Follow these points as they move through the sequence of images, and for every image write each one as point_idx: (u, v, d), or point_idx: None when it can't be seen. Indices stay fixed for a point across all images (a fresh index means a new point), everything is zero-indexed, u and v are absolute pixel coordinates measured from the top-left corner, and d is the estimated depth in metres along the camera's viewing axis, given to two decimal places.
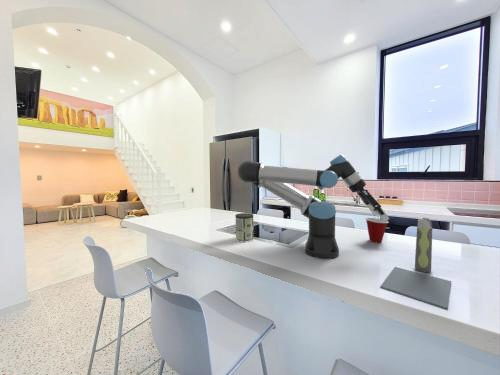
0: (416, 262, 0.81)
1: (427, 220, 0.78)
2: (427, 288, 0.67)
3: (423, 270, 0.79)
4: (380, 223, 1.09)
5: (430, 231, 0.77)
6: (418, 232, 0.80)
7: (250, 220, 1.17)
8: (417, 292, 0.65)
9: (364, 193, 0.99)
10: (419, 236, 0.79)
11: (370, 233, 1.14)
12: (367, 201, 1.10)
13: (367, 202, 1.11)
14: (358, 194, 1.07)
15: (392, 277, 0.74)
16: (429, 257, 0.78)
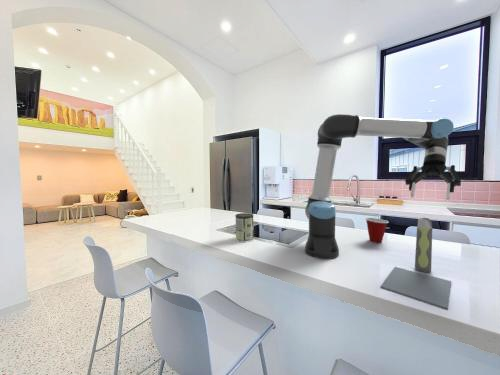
0: (416, 262, 0.81)
1: (427, 220, 0.78)
2: (427, 288, 0.67)
3: (423, 270, 0.79)
4: (380, 223, 1.09)
5: (430, 231, 0.77)
6: (418, 232, 0.80)
7: (250, 220, 1.17)
8: (417, 292, 0.65)
9: (454, 167, 0.88)
10: (419, 236, 0.79)
11: (370, 233, 1.14)
12: (416, 181, 0.93)
13: (415, 181, 0.93)
14: (430, 165, 0.92)
15: (392, 277, 0.74)
16: (429, 257, 0.78)
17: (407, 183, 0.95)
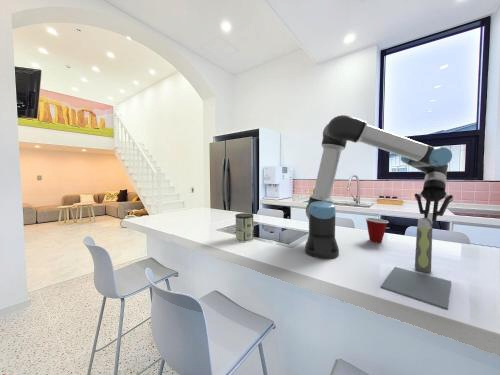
0: (416, 262, 0.81)
1: (427, 220, 0.78)
2: (427, 288, 0.67)
3: (423, 270, 0.79)
4: (380, 223, 1.09)
5: (430, 231, 0.77)
6: (418, 232, 0.80)
7: (250, 220, 1.17)
8: (417, 292, 0.65)
9: (451, 198, 0.88)
10: (419, 236, 0.79)
11: (370, 233, 1.14)
12: (429, 209, 0.90)
13: None
14: (429, 191, 0.93)
15: (392, 277, 0.74)
16: (429, 257, 0.78)
17: (422, 212, 0.91)
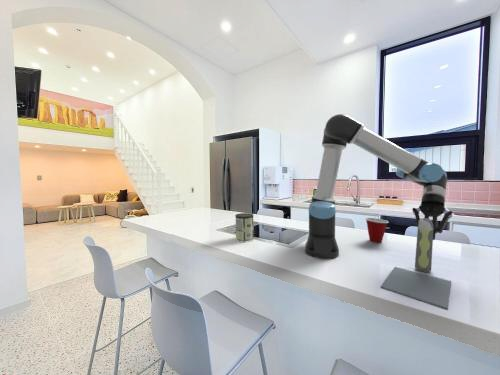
0: (416, 262, 0.80)
1: (428, 221, 0.76)
2: (427, 288, 0.67)
3: (423, 270, 0.79)
4: (380, 223, 1.09)
5: (431, 232, 0.76)
6: (419, 233, 0.78)
7: (250, 220, 1.17)
8: (417, 292, 0.65)
9: (451, 214, 0.83)
10: (420, 237, 0.78)
11: (370, 233, 1.14)
12: None
13: None
14: (428, 206, 0.88)
15: (392, 277, 0.74)
16: (429, 258, 0.77)
17: None
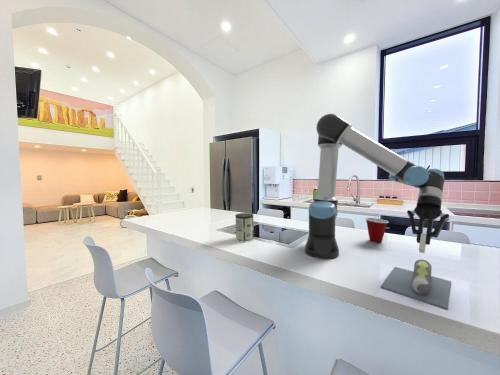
0: None
1: None
2: None
3: None
4: (380, 223, 1.09)
5: None
6: None
7: (250, 220, 1.17)
8: None
9: (447, 217, 0.78)
10: None
11: (370, 233, 1.14)
12: (422, 229, 0.81)
13: (422, 230, 0.80)
14: (423, 208, 0.84)
15: (392, 277, 0.74)
16: None
17: (414, 232, 0.81)
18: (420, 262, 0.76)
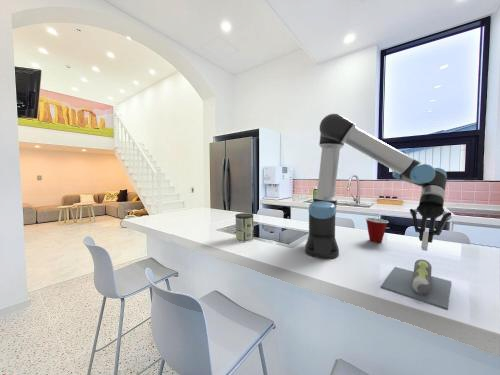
0: None
1: None
2: None
3: None
4: (380, 223, 1.09)
5: None
6: None
7: (250, 220, 1.17)
8: None
9: (449, 216, 0.80)
10: None
11: (370, 233, 1.14)
12: (425, 227, 0.82)
13: (424, 228, 0.82)
14: (426, 207, 0.85)
15: (392, 277, 0.74)
16: None
17: (417, 231, 0.83)
18: (420, 262, 0.76)
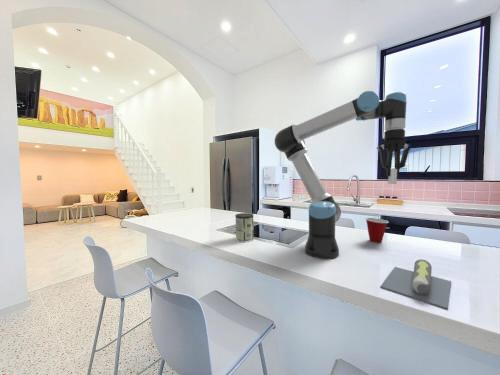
0: None
1: None
2: None
3: None
4: (380, 223, 1.09)
5: None
6: None
7: (250, 220, 1.17)
8: None
9: None
10: None
11: (370, 233, 1.14)
12: None
13: (390, 164, 0.94)
14: (393, 143, 0.92)
15: (392, 277, 0.74)
16: None
17: (384, 167, 0.95)
18: (420, 262, 0.76)
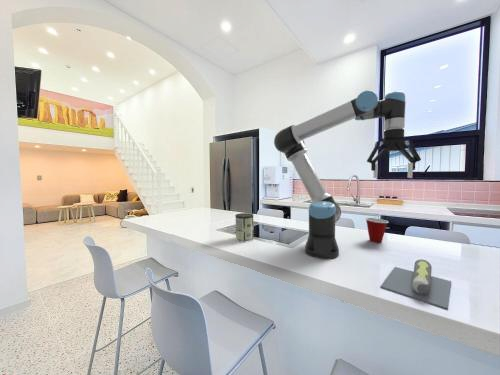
0: None
1: None
2: None
3: None
4: (380, 223, 1.09)
5: None
6: None
7: (250, 220, 1.17)
8: None
9: None
10: None
11: (370, 233, 1.14)
12: (377, 159, 0.95)
13: (376, 160, 0.95)
14: (392, 143, 0.92)
15: (392, 277, 0.74)
16: None
17: (369, 162, 0.96)
18: (420, 262, 0.76)
